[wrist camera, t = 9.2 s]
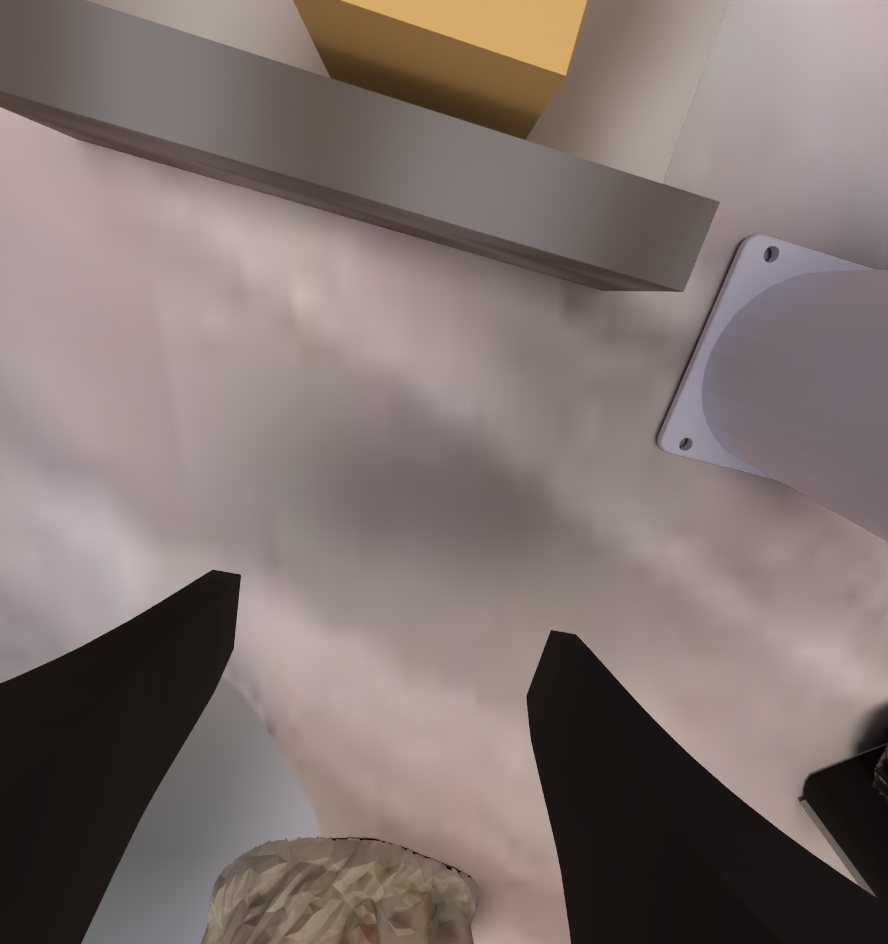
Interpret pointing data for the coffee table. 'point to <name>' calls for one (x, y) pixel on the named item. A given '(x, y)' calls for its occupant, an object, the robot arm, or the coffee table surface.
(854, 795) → the camera
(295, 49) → the board
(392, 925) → the rough stone chunk
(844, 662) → the coffee table surface
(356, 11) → the cabinet block
